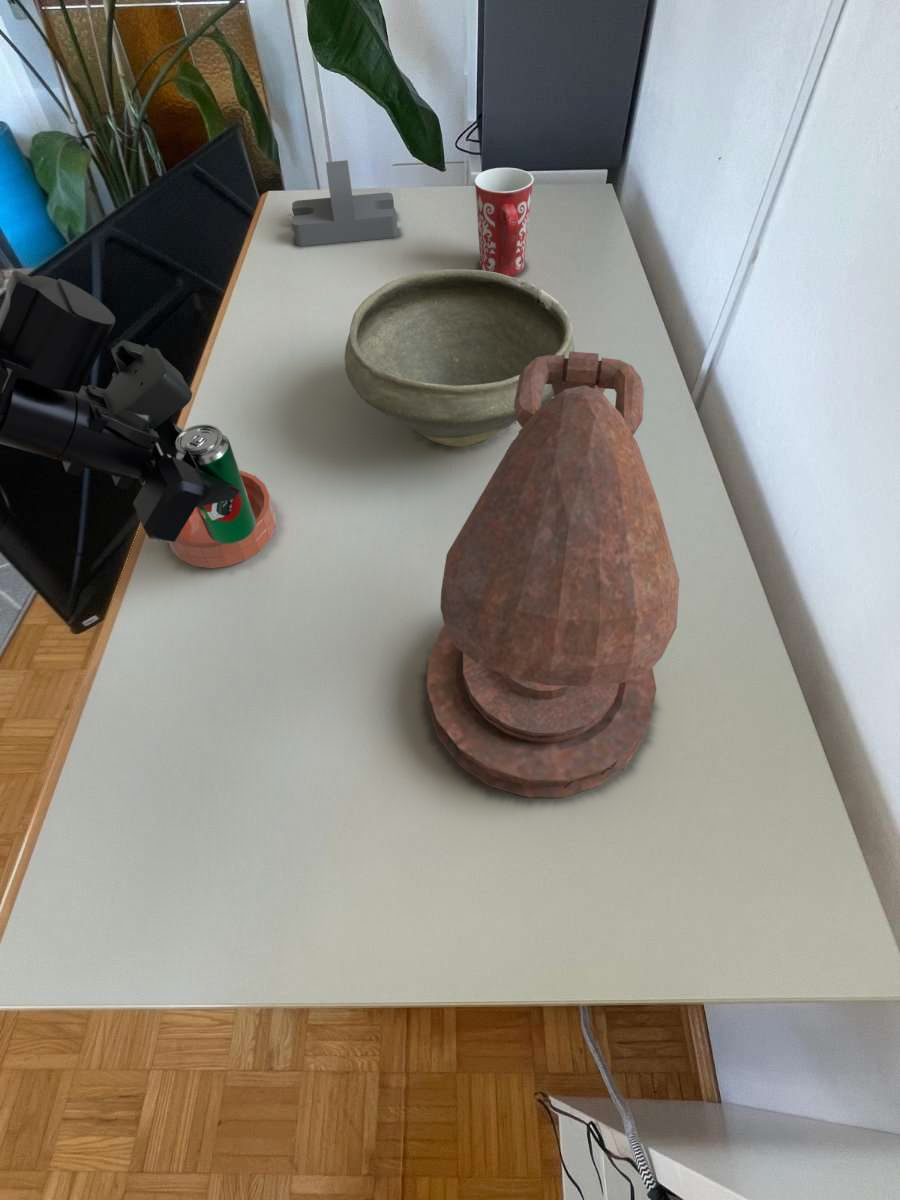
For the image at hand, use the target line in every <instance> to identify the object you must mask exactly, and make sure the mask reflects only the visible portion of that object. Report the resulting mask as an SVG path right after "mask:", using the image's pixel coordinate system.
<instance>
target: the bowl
mask: <svg viewBox="0 0 900 1200" xmlns="http://www.w3.org/2000/svg"><path fill="white" fill-rule="evenodd" d="M349 326H350V327H349V333H348V337H347V339H346V344H345V351H344V368H345V374H346V377H347V379H348V382H349V383H350V385H351V386H352V388H353V389H354V390H355V392H356V393H357V395H358V396H359V397H360V398H361V399H362V400H363V401H364V402H366V404H368V405H370V406H371V407H372V408H374V409H376V410H378V411H380V412H382V413H383V414H386V415H387V416H390V417H391V418H394V419H396V420H398V421H400V422H402V423H404V424H406V425H408V426H409V427H411V428H412V429H414V430H415V431H416V432H418V433H419V434H421V435H422V436H423V437H424V438H426V439H428V440H430V441H433V442H434V443H437V444H440V445H444V446H450V447H456V448H461V447H467V446H472V445H475V444H477V443H480V442H482V441H485V440H487V439H489V438H492V437H493V436H495V435H497V434H499V433H501V432H502V431H504V430H506V429H507V428H509V427H511V425H513V424H515V422H518V421H517V420H516V416H515V410H514V403H515V397H516V391H517V386H518V380H519V376H520V375H521V373H522V371H523V370H524V368H525V367H526V366H527V365H528V364H529V363H531V362H532V361H533V360H534V359H535V358H537V357H542V356H546V355H565V358H569V351H570V352H576V351H575V343H574V338H573V337H574V336H573V322H572V319H571V317H570V315H569V313H568V312H567V311H566V309H565V308H564V307H563V305H562V304H561V303H560V302H559V301H558V300H557V299H556V298H554V297H553V296H551V295H550V294H549V293H548V292H546V291H544V289H542V288H541V287H540V286H539V287H537V285H536V284H534V283H528V282H527V281H526V280H523V279H520V278H517V277H514V276H511V277H510V276H507V275H503V274H500V273H496V272H490V271H483V270H481V269H468V268H467V269H466V268H465V269H464V268H463V269H462V268H460V269H457V268H456V269H454V268H449V269H438V270H436V269H435V270H424V271H423V270H422V271H417V272H415V273H411V274H407V275H405V276H401V277H397V278H396V279H392V280H391V281H389V282H387V283H386V284H384V285H382V287H380V288H378V289H377V290H375V291H374V292H372V293H370V295H368V297H366V298H365V299H364V300H363V301H361V303H360V304H359V306H358V307H357V308H356V310H355V311H354V314H353V316H352V320H351V323H350V325H349ZM553 397H554V392H553V388H552V384H545V385H544V390H543V396H542V402H541V406H542V405H543V404H545V403H546V402H548V401H549V400H550V399H552V398H553Z"/></svg>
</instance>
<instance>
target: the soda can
mask: <svg viewBox="0 0 900 1200" xmlns="http://www.w3.org/2000/svg"><path fill="white" fill-rule="evenodd" d="M175 447H176V448H175V458H177V459H180V460H182V459H183V457H184V455H185V454H186V452H187V451H189V452H190V454H191V456H192V458H193V460H194V462H195V463H196V465H197V467H198V469H199V470H202V471H204V472H206V473H208V474H210V475H212V476H215V477H217V478H219V479H221V480H223V481H225V482H228V483H229V484H231V485H233V486H235V487H237V488H238V489H239V491H240V492H239V494H238V495H237V497H236V498H235V499H233V500H228V501H223V502H219V503H214V504H209V505H204V506H200V507H197V509H198V512H199V514H200V516H201V519H202V521H203V523H204V526H205V528H206V530H207V533H208V535H209V536H210V537H211V538H212V539H213V540H215V541H217V542H220V543H224V544H233V543H238V542H240V541H242V540H244V539H246V538H247V537H248V536H249V535H250V534H251V533H252V532H253V530H254V528H255V526H256V519H255V516H254V513H253V510H252V507H251V504H250V501H249V498H248V495H247V492H246V489H245V486H244V483H243V480H242V477H241V475H240V472H239V470H240V469H239V467H238V463H237V460H236V457H235V454H234V452H233V449H232V446H231V443H230V440H229V438H228V437H227V436H226V434H223V432H222V430H221V429H220V428H218V427H217V426H215V425H211V424H196V425H192V426H189V427H187V428H185V429H184V430H183V431H182V432H181V433H180V434H179V435H178V436H177V438H176V440H175Z"/></svg>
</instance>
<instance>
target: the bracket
mask: <svg viewBox="0 0 900 1200" xmlns="http://www.w3.org/2000/svg"><path fill="white" fill-rule="evenodd" d="M325 166H326V167H325V168H326V175H327V176H326V177H327V182H328V183H327V184H328V191H329V197H322V198H310V199H300V200H299V199H298V200H295V201H293V202H291V207H292V208H291V210H292V214H293V215H292V216H291V223H292V229H293V233H294V238H295V245H297V246H298V247H310V246H321V245H330V244H331V245H332V244H342V243H352V242H362V241H372V240H382V239H394V238H396V237H397V236H398V235H399V232H398V219H397V211H396V208H395V202H394V195H393V194H392V193H391V192H377V193H376V192H375V193H367V194H354V195H353V190H352V184H351V175H350V168H349V161H348V160H347V159H346V160H335V161H325Z"/></svg>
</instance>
